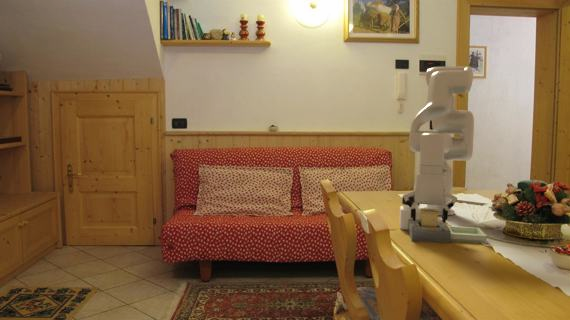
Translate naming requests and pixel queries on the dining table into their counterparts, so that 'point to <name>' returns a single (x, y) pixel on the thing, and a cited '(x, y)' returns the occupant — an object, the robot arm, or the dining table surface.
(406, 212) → the medicine bottle
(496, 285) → the dining table surface
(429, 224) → the tan rectangular block
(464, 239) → the parts tray
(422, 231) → the rail plate
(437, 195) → the robot arm
